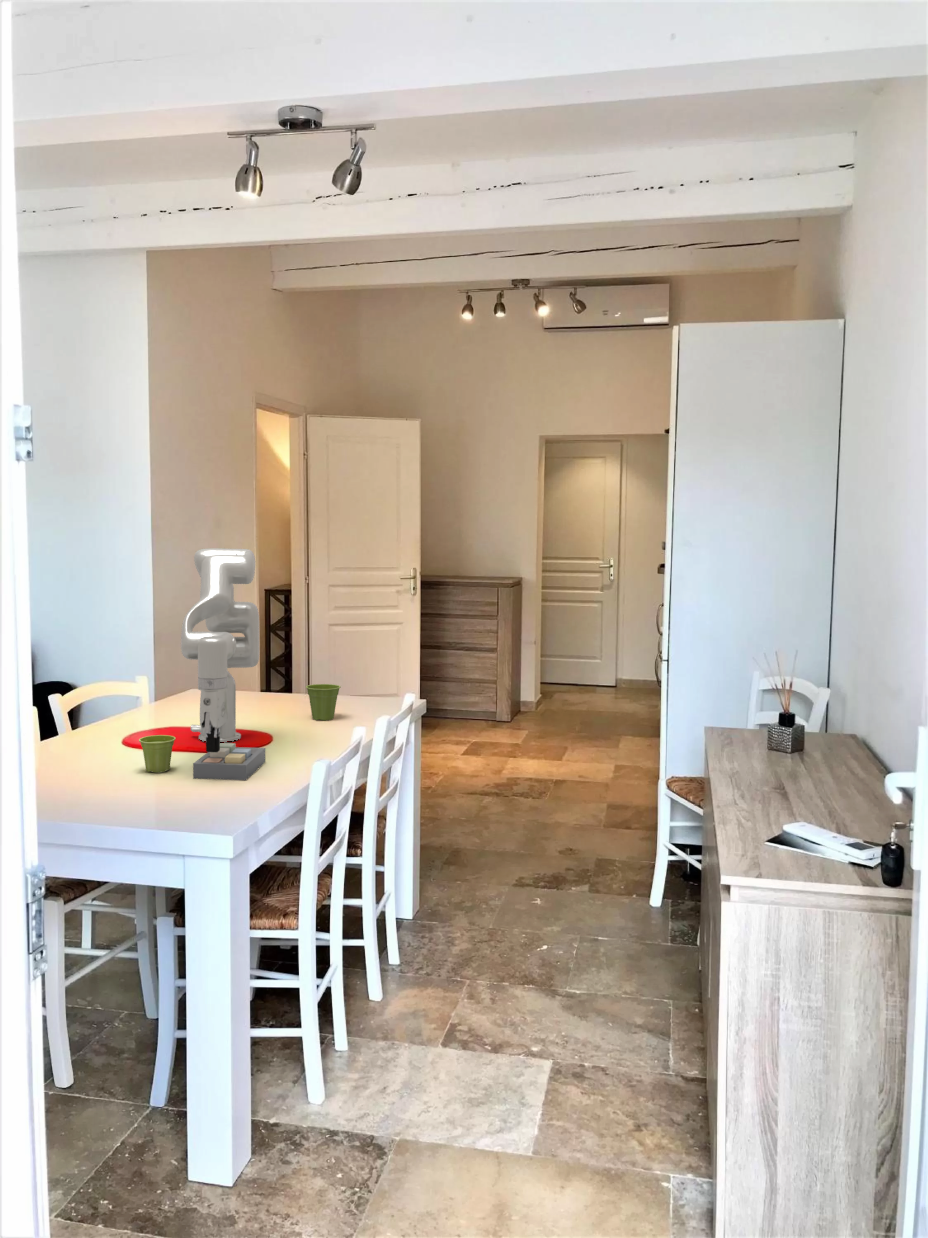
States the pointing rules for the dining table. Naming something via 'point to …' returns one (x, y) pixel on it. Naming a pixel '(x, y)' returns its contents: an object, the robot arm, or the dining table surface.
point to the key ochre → (235, 758)
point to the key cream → (220, 753)
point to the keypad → (229, 766)
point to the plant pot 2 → (323, 700)
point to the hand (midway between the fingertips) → (212, 751)
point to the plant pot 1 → (157, 752)
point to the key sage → (228, 746)
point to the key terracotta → (213, 760)
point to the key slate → (242, 752)
